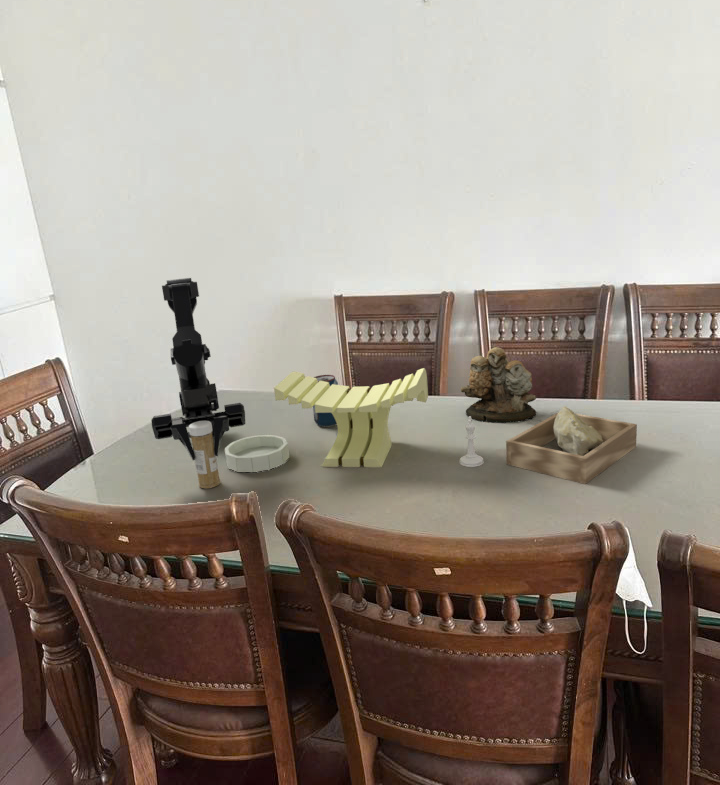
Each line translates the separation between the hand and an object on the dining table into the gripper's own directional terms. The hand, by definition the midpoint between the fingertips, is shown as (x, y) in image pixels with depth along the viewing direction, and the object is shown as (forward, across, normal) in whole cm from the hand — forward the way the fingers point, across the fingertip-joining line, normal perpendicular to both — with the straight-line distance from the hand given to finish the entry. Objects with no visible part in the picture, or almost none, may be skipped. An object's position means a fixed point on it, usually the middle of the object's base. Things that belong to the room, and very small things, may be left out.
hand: (205, 457), depth 136 cm
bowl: (-2, +11, +12) cm, 16 cm away
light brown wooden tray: (+17, +72, -8) cm, 75 cm away
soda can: (-15, +31, +24) cm, 42 cm away
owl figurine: (-4, +71, +14) cm, 72 cm away
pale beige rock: (+18, +74, -9) cm, 77 cm away
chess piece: (+13, +53, -4) cm, 55 cm away
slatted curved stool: (+2, +33, +8) cm, 34 cm away
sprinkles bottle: (+4, 0, +6) cm, 7 cm away
